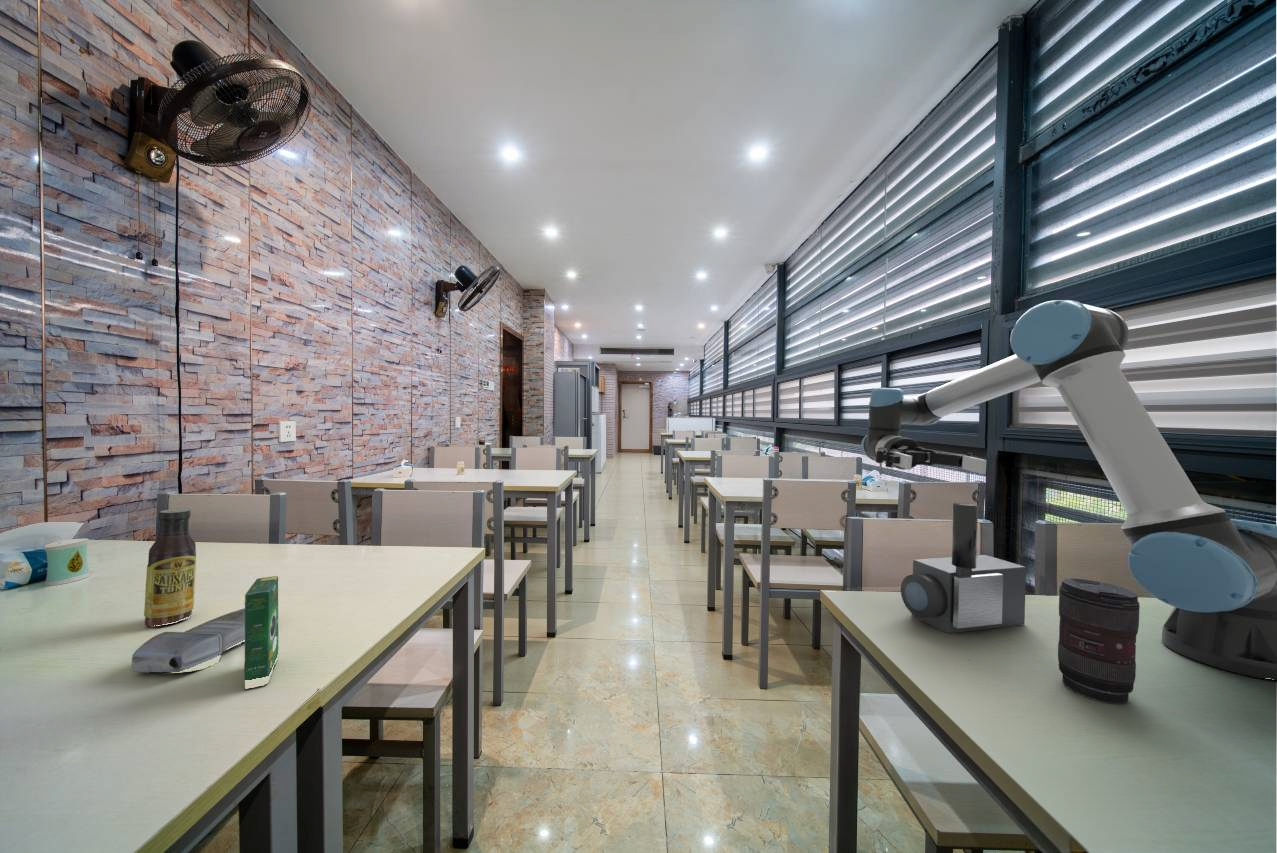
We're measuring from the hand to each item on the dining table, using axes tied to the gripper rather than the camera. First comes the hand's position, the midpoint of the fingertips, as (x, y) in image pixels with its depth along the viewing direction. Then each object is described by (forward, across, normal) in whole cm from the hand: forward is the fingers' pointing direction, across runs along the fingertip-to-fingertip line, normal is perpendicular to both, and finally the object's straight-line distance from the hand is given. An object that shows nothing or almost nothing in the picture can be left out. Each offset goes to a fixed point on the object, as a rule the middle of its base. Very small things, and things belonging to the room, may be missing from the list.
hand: (946, 464), depth 90 cm
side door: (+8, -3, -28) cm, 29 cm away
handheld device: (+33, +124, -33) cm, 132 cm away
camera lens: (+25, -9, -29) cm, 39 cm away
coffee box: (+39, +109, -32) cm, 120 cm away
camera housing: (+3, -4, -30) cm, 30 cm away
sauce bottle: (+26, +141, -33) cm, 147 cm away
